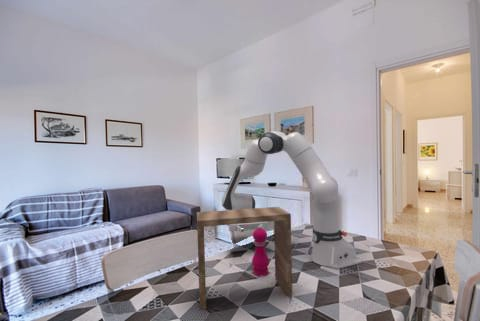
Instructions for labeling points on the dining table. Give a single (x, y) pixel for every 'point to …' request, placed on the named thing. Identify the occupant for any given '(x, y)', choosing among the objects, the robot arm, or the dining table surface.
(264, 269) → the pepper mill
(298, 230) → the dining table surface
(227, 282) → the dining table surface
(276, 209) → the arch
